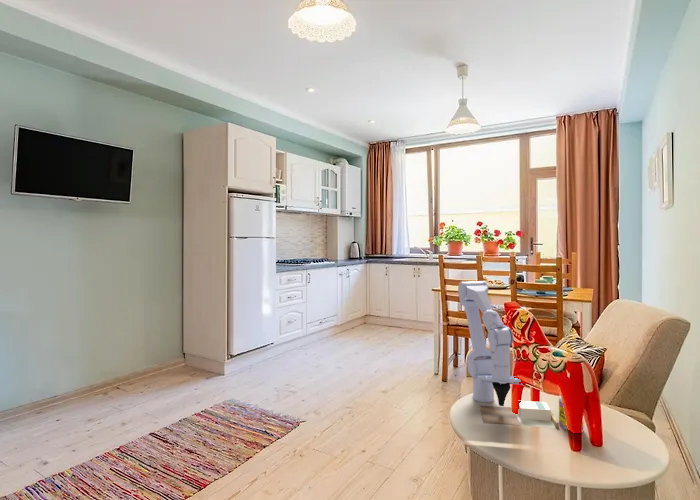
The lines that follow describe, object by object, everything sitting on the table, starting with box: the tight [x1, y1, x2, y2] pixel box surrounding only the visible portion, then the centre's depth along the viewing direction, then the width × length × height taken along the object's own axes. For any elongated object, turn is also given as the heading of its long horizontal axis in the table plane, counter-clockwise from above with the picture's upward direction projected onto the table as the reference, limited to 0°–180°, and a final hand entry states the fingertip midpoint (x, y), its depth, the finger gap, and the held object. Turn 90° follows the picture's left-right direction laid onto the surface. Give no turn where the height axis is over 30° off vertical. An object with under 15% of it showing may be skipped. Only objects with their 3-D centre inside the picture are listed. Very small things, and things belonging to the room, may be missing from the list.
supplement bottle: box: [558, 395, 584, 432], centre depth 127 cm, size 7×7×13 cm
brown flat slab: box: [479, 405, 560, 429], centre depth 135 cm, size 14×22×2 cm, turn 78°
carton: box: [518, 400, 552, 421], centre depth 135 cm, size 6×9×4 cm
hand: (501, 404), depth 137 cm, fingers closed
